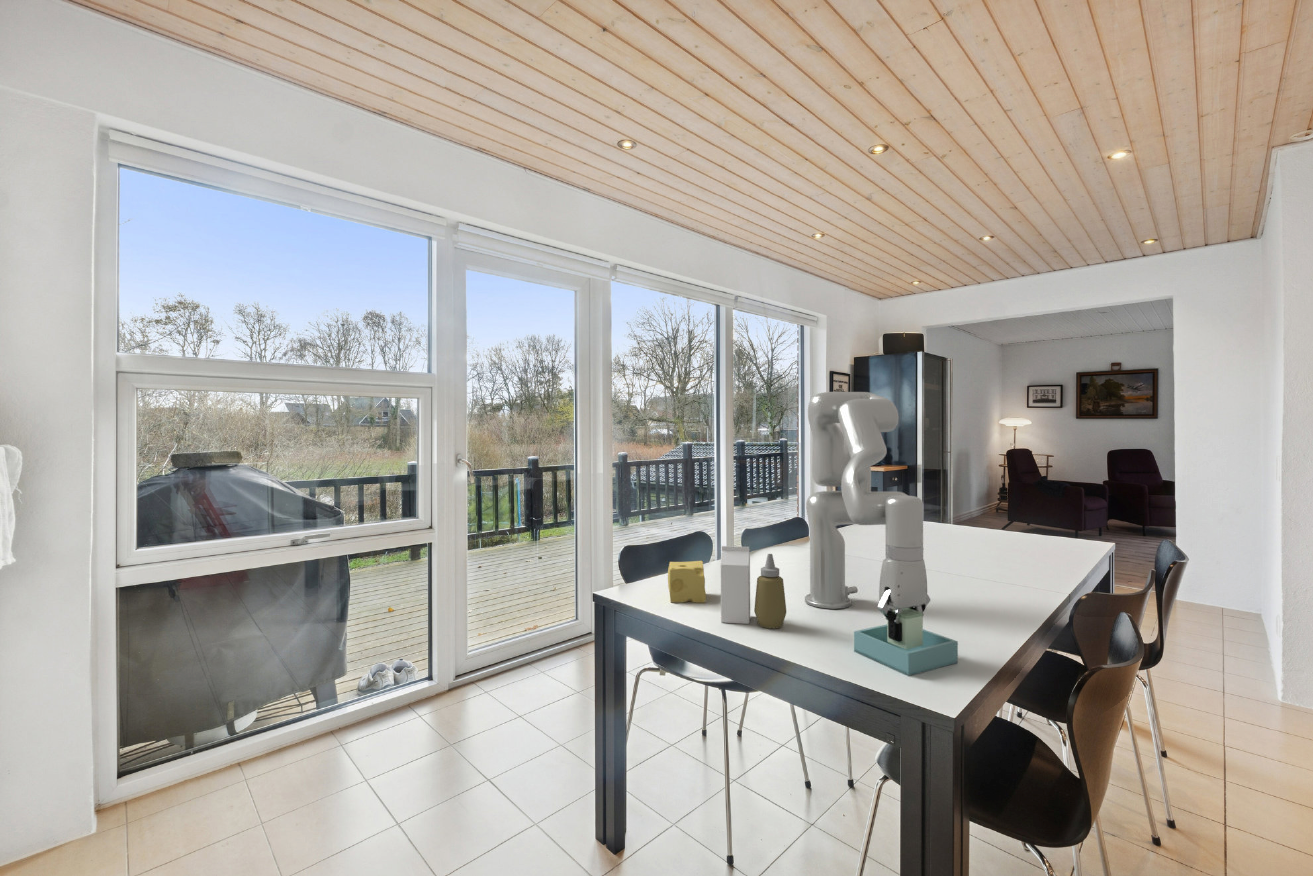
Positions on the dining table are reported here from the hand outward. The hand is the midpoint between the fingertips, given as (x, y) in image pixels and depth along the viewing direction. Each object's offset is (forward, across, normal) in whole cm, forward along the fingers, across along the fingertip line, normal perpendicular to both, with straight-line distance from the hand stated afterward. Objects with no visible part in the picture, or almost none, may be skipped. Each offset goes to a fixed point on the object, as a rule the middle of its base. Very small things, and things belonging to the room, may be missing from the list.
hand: (904, 636), depth 127 cm
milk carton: (+5, +18, -38) cm, 42 cm away
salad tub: (+2, 0, 0) cm, 2 cm away
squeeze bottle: (+5, +13, -30) cm, 33 cm away
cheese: (+5, +20, -61) cm, 64 cm away
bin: (+4, 0, 0) cm, 4 cm away
